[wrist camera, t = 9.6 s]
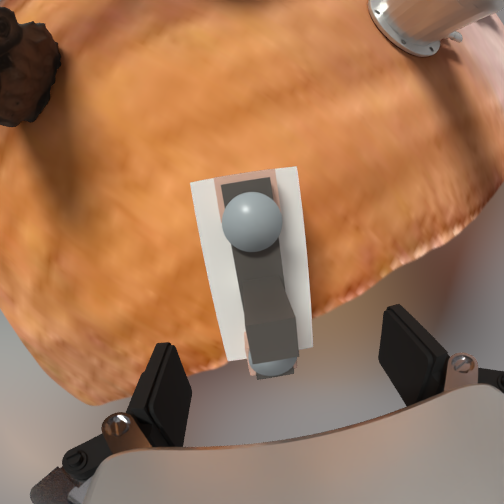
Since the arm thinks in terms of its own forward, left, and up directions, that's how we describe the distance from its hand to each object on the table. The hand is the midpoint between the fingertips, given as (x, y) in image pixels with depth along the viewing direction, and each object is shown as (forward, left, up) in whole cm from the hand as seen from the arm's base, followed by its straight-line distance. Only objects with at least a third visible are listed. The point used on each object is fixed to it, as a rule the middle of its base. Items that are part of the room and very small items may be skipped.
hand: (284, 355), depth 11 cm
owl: (+28, -30, -21) cm, 46 cm away
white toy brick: (0, 0, -21) cm, 21 cm away
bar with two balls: (0, 0, -11) cm, 11 cm away
